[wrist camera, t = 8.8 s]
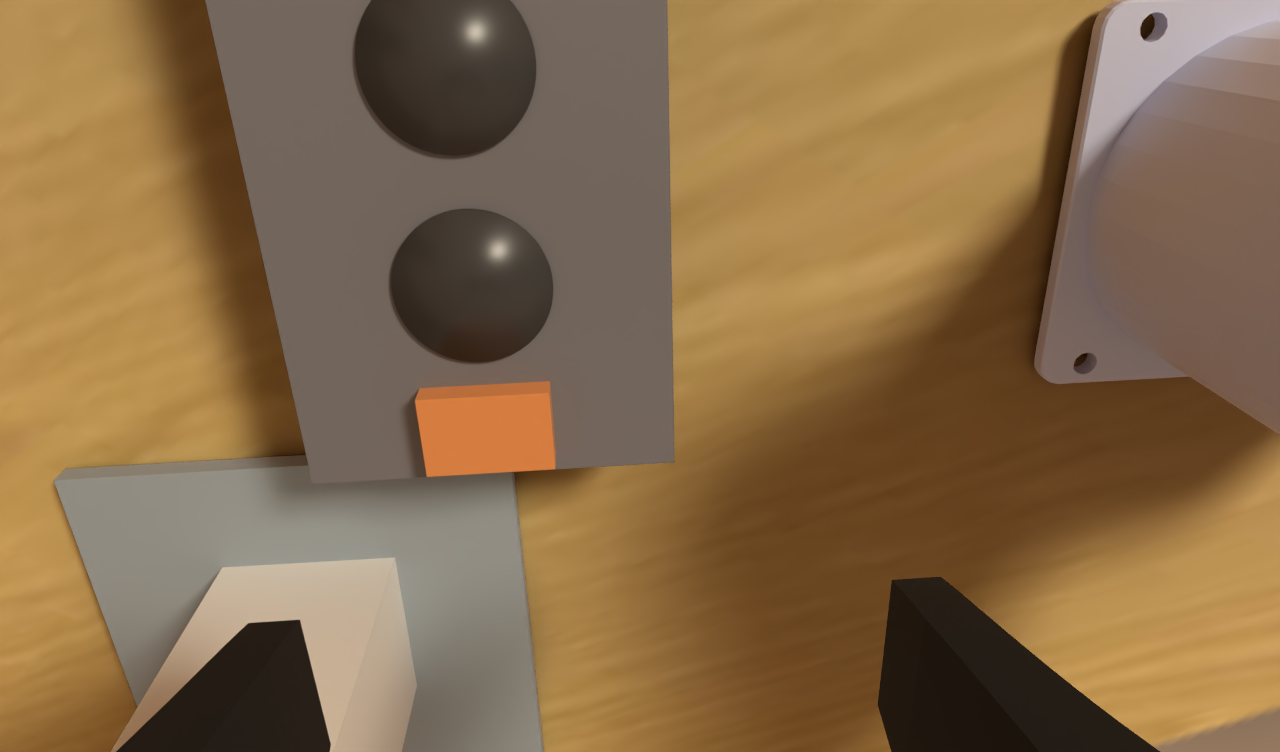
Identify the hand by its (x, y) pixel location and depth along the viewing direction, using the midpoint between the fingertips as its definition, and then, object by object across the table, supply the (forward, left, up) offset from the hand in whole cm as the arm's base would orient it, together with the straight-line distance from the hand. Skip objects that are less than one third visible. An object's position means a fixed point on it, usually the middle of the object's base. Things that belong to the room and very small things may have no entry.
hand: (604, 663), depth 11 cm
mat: (+7, +7, -9) cm, 14 cm away
